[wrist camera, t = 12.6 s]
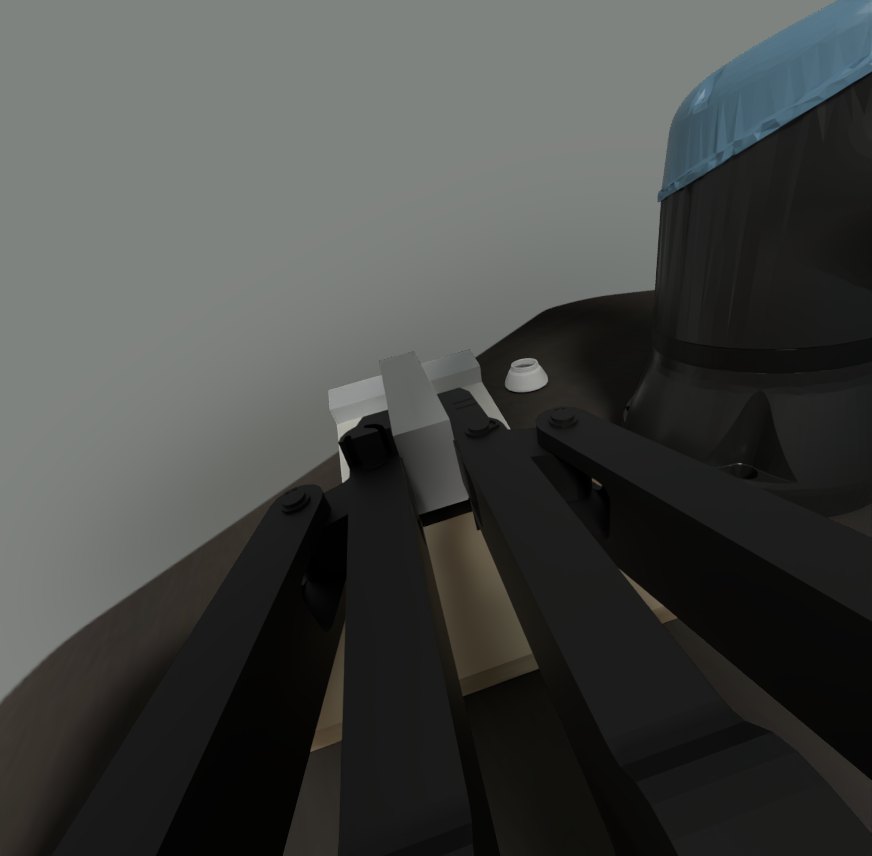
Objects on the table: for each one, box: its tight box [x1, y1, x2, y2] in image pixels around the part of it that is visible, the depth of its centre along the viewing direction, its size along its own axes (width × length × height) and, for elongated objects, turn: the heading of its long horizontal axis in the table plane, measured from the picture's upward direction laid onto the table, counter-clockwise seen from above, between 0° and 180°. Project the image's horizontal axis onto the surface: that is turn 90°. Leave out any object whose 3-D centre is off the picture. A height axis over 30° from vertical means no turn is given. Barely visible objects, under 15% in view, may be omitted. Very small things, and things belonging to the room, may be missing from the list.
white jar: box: [505, 358, 548, 392], centre depth 43 cm, size 5×3×5 cm
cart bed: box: [310, 478, 677, 752], centre depth 21 cm, size 22×12×4 cm, turn 102°
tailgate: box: [328, 350, 510, 498], centre depth 30 cm, size 14×3×14 cm
